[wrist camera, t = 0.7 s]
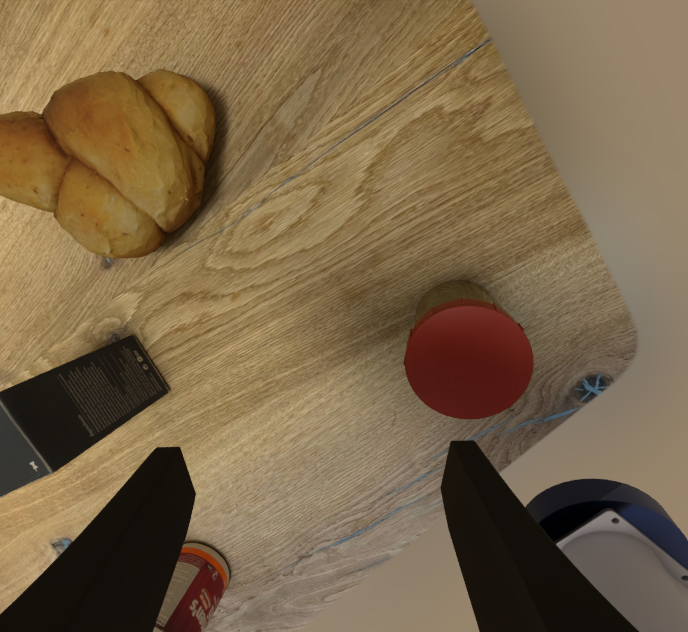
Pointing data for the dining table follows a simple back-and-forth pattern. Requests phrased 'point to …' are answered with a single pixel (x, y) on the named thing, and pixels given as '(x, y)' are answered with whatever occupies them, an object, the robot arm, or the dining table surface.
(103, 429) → the box
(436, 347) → the jar lid
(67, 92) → the bread roll
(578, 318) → the dining table surface
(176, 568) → the pill bottle
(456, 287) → the jam jar
